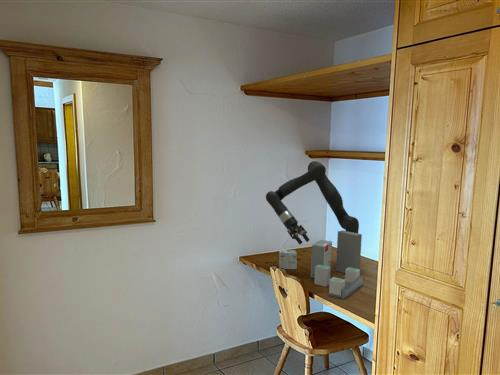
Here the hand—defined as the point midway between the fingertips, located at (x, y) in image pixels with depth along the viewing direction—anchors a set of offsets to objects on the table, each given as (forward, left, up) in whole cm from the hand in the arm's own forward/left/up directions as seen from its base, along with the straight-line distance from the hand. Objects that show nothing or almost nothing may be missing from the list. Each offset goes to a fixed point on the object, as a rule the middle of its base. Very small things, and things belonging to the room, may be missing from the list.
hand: (304, 242), depth 224 cm
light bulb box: (-13, -18, -22) cm, 32 cm away
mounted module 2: (-11, +25, -21) cm, 34 cm away
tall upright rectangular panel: (-28, +16, -22) cm, 39 cm away
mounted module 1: (+10, +25, -21) cm, 34 cm away
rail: (0, +26, -22) cm, 34 cm away
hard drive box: (-13, +5, -22) cm, 26 cm away
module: (0, +12, -22) cm, 25 cm away
